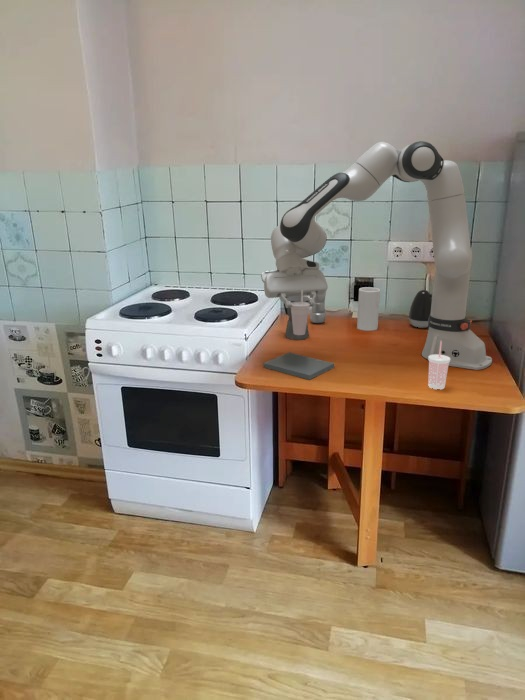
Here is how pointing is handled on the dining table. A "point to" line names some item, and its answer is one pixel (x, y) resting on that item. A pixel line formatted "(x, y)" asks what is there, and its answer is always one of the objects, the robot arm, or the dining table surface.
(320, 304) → the plastic bottle
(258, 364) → the dining table surface
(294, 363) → the slate board
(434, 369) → the beverage cup
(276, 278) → the robot arm
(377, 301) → the cup
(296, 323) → the smoothie
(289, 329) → the coffeepot
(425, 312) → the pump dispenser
